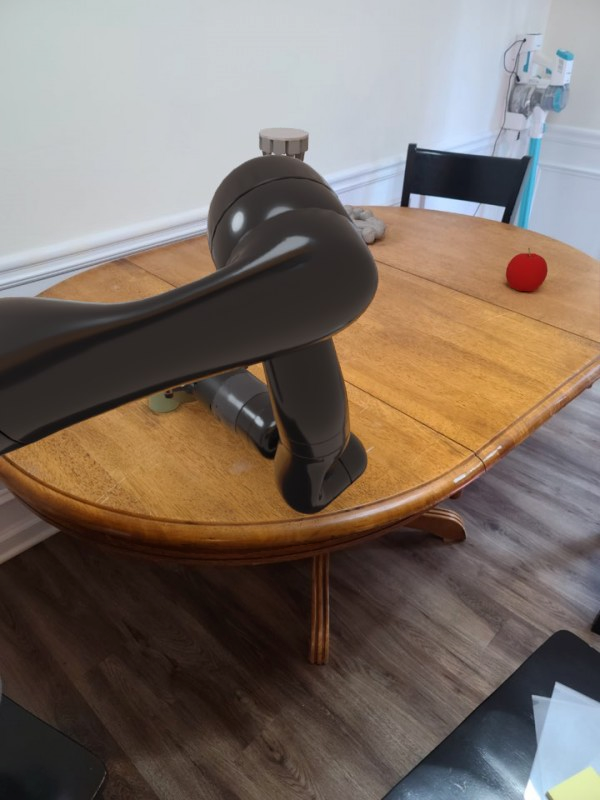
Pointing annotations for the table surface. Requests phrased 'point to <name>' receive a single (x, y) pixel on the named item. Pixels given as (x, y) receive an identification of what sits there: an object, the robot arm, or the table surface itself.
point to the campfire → (366, 223)
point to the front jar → (162, 403)
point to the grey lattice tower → (284, 142)
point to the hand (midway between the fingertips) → (174, 346)
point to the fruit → (526, 271)
